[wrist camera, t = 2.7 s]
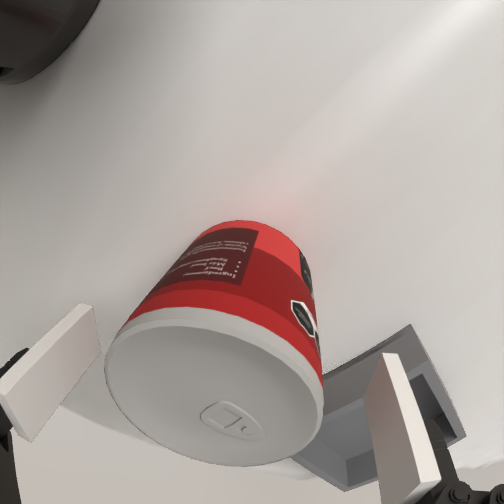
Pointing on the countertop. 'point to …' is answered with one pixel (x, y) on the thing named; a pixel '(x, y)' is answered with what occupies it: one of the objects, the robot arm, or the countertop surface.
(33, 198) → the countertop surface
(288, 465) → the countertop surface
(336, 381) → the tray
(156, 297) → the canned food
